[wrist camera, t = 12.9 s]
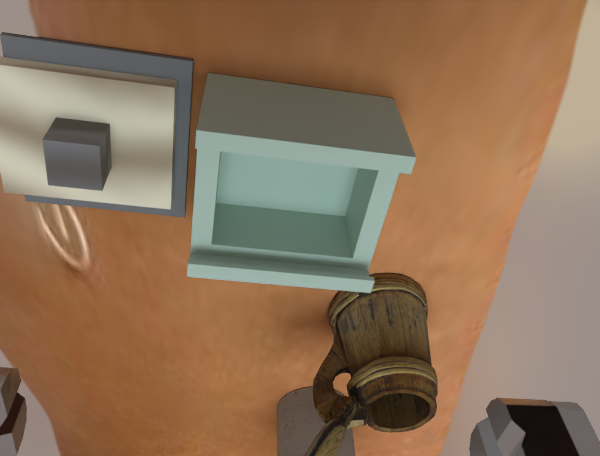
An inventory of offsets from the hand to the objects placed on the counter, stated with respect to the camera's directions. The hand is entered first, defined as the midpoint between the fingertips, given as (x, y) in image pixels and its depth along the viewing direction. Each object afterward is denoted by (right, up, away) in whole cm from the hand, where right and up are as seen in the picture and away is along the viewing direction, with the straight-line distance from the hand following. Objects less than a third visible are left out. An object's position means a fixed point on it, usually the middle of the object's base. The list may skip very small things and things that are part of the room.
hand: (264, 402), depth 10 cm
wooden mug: (+6, -4, +44) cm, 44 cm away
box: (0, +8, +33) cm, 34 cm away
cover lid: (-14, +10, +31) cm, 35 cm away
